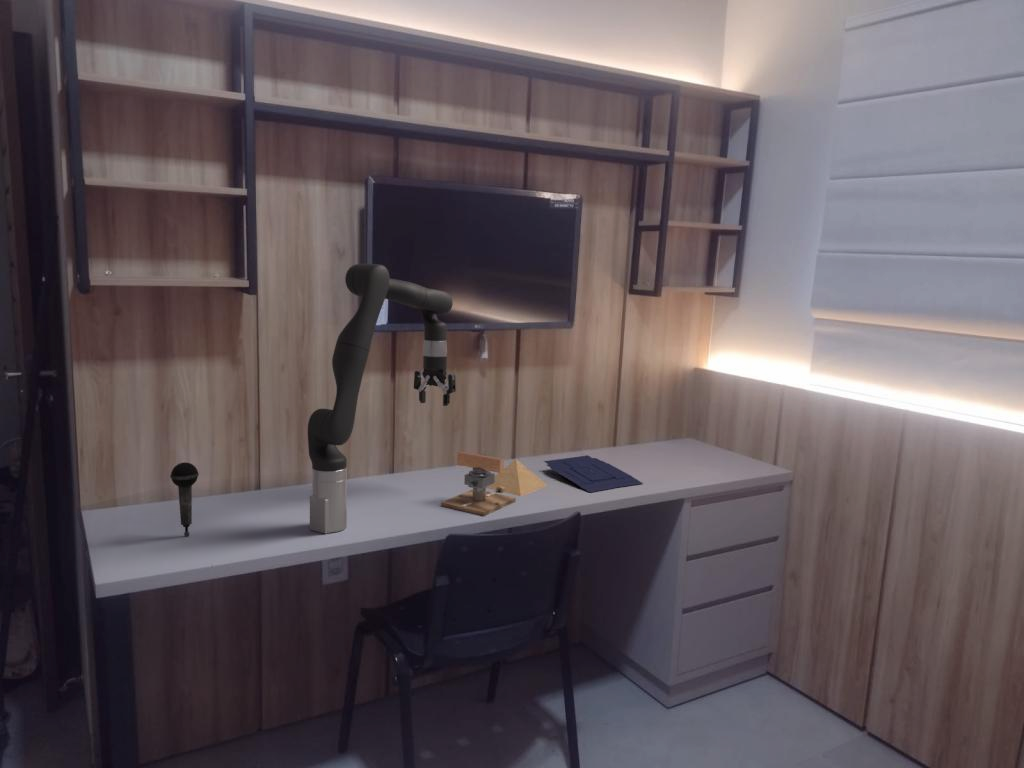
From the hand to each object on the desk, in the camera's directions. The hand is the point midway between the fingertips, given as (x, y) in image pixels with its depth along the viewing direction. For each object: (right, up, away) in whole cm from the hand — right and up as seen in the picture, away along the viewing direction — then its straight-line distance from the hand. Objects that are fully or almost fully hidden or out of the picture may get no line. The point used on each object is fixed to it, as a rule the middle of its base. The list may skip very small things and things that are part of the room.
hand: (434, 404), depth 240 cm
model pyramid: (+26, -29, +13) cm, 41 cm away
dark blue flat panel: (+53, -28, +27) cm, 65 cm away
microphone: (-61, -34, -43) cm, 82 cm away
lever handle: (+15, -24, -8) cm, 30 cm away
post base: (+15, -31, -7) cm, 35 cm away
